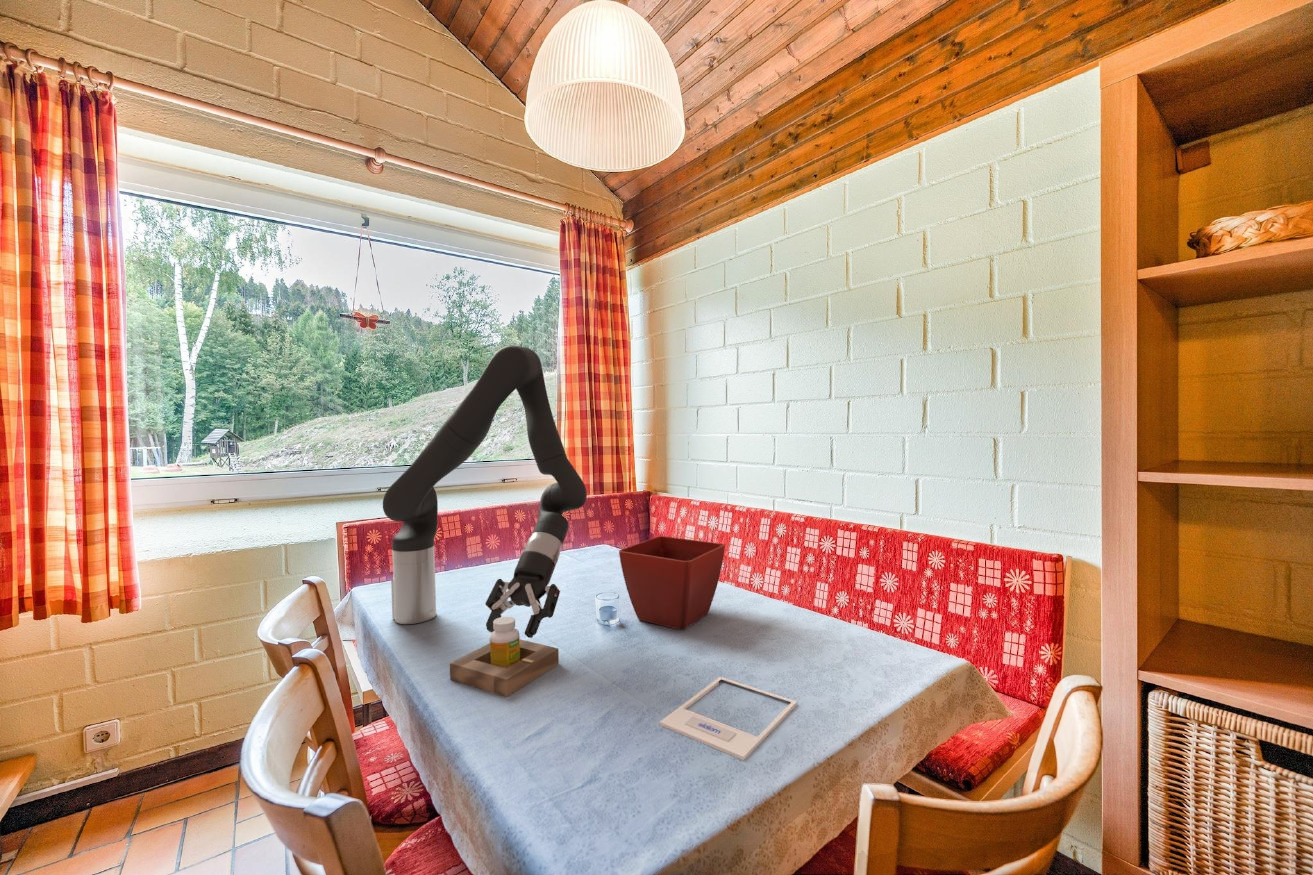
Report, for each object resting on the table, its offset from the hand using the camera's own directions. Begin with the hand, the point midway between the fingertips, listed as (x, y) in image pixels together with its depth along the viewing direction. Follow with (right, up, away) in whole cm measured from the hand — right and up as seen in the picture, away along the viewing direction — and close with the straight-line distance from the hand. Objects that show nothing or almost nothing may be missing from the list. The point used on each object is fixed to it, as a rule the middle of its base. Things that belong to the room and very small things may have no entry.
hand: (508, 633), depth 103 cm
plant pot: (+32, -6, +26) cm, 42 cm away
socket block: (0, -7, -1) cm, 7 cm away
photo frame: (+40, -7, -17) cm, 44 cm away
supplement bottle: (0, -7, -1) cm, 7 cm away
